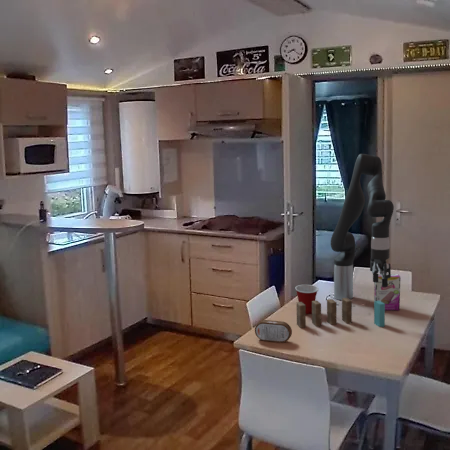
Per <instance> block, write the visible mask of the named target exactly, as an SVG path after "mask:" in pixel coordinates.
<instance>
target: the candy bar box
mask: <svg viewBox="0 0 450 450" xmlns="http://www.w3.org/2000/svg"><path fill="white" fill-rule="evenodd" d="M377 274H378V282H375V283H374V289H373V290H374V295H373V299H374V301H381V302H383V303H384V304H385V311H400V309H401V308H400V307H401V306H400V305H401V303H400V302H401V275H400V274H398V273H397V274H395V273H394V274H393V273H392V274H391V278H388V286H387V287H382V276H381V274H380V273H377ZM374 301H373V302H374Z"/></svg>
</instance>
